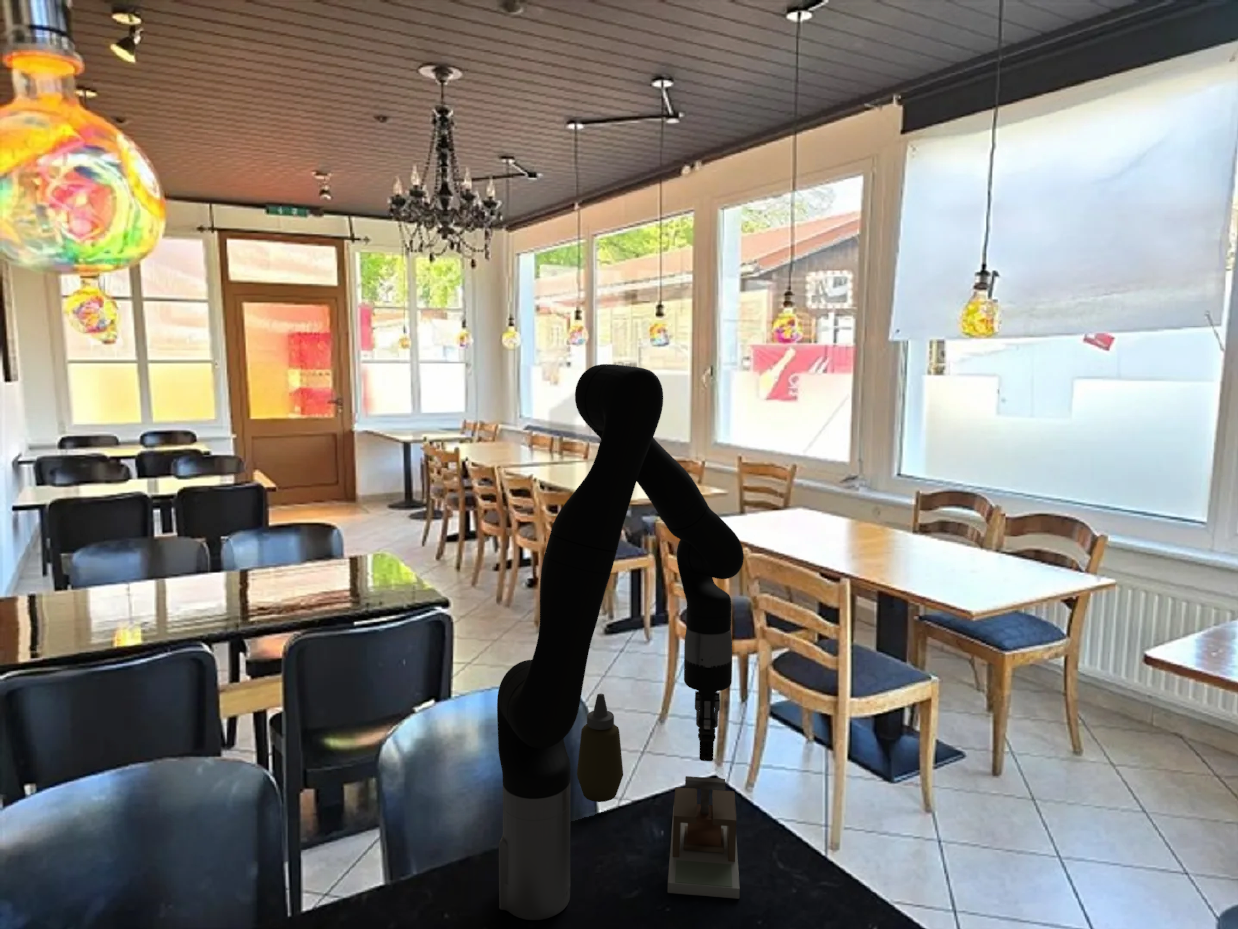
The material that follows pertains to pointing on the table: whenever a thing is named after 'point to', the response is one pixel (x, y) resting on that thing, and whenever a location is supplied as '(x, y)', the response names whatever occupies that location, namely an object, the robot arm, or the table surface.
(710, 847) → the sled
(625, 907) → the table surface
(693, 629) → the robot arm
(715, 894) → the tunnel
